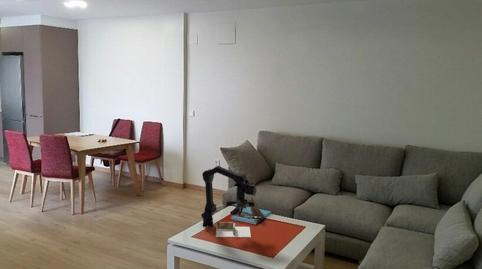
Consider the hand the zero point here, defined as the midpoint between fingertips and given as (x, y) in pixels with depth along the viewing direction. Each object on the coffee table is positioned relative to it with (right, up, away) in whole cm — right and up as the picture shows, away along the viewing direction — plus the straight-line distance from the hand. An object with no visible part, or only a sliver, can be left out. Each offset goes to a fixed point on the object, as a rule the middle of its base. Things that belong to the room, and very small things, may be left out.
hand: (239, 215), depth 261 cm
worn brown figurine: (+12, -8, +29) cm, 33 cm away
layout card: (-4, -12, +1) cm, 12 cm away
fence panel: (-4, -11, 0) cm, 12 cm away
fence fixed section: (-10, -11, +5) cm, 15 cm away
